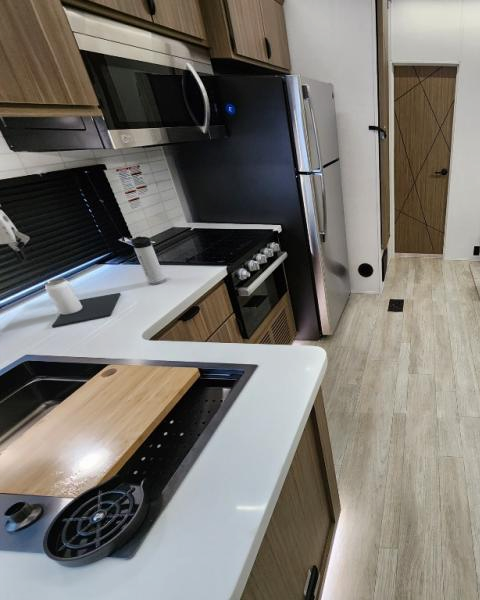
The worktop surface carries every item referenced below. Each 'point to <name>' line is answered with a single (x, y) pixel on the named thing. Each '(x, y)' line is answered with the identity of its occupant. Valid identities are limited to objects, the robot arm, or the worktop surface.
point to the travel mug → (148, 260)
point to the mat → (90, 310)
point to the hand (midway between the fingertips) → (10, 262)
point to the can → (63, 296)
